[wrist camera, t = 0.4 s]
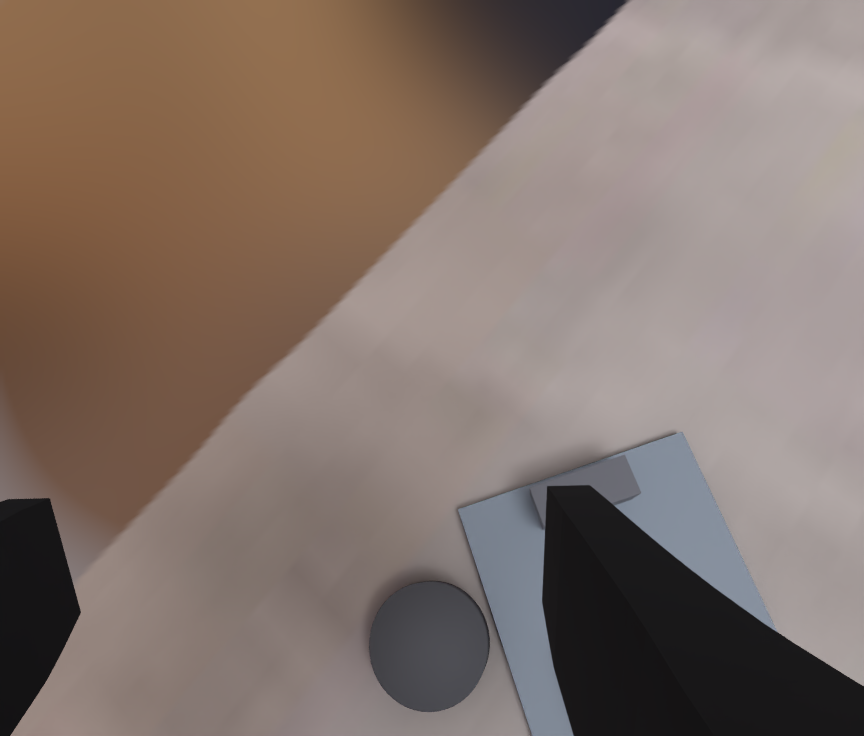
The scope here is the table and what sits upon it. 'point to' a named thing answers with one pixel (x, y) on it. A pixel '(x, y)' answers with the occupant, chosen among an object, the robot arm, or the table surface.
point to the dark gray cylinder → (429, 645)
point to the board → (644, 505)
